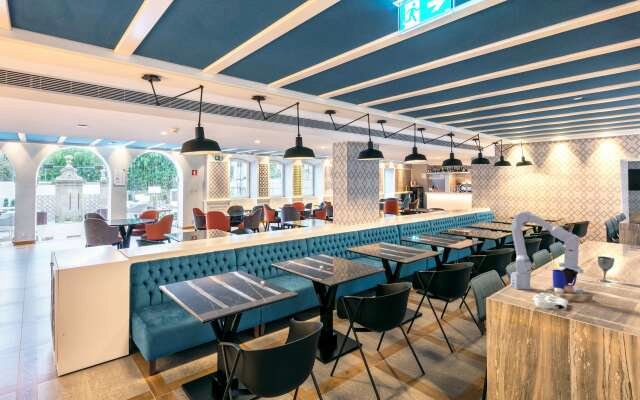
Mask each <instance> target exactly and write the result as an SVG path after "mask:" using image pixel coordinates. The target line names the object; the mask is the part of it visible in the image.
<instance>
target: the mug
mask: <svg viewBox="0 0 640 400" xmlns="http://www.w3.org/2000/svg"><path fill="white" fill-rule="evenodd" d="M577 277H578V274H577V275H576V277H575V278H574V280H573V283H572V284H569V283H567V282H566V277H565V274H564V272H563V271H562V269H552V286H553V288H562V289H564V286H571V287H574V286H575V285H576V283H577Z"/></svg>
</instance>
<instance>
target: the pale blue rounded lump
mask: <svg viewBox="0 0 640 400" xmlns="http://www.w3.org/2000/svg"><path fill="white" fill-rule="evenodd" d="M574 292H575V293H577V294H583V292H584V289H582V288H579V287H574Z"/></svg>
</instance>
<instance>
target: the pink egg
mask: <svg viewBox="0 0 640 400" xmlns="http://www.w3.org/2000/svg"><path fill="white" fill-rule="evenodd" d="M574 288H575V287H574V286H572V287H571V286H564V292H565V293H568V294H573V292H574Z"/></svg>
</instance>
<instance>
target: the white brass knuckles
mask: <svg viewBox="0 0 640 400" xmlns="http://www.w3.org/2000/svg"><path fill="white" fill-rule="evenodd" d="M530 300H531V301H533V303H534V304H535V306H536V307H538V308H542V309H554V310H555V309H556V310H560V311H566V309H567V307H568V304H569V301H567V300H566V299H563V298H560V297H556V296H554V295H552V294H549V293H546V292H540V293H536V294H535V295H533V296H532V298H530ZM560 306H562V308H561V309H560Z"/></svg>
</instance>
